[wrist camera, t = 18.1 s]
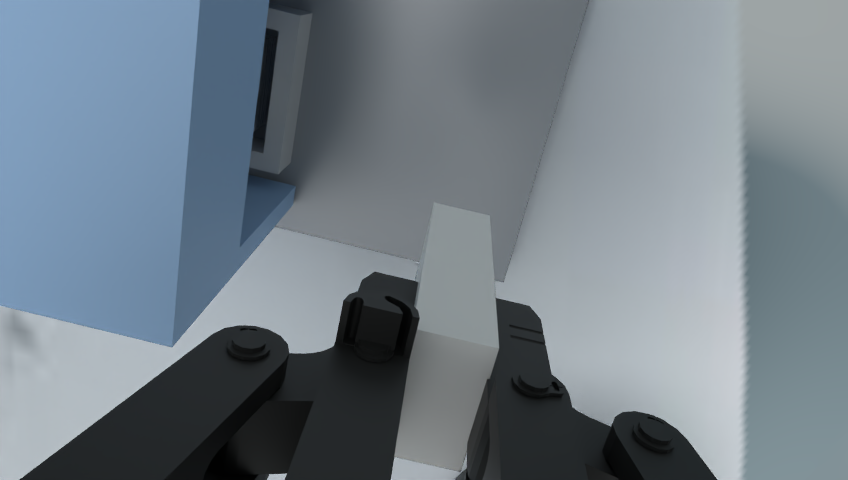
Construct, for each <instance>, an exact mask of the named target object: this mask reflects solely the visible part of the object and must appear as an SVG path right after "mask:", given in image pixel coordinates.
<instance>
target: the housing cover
mask: <svg viewBox="0 0 848 480" xmlns="http://www.w3.org/2000/svg"><path fill="white" fill-rule="evenodd" d="M268 7H269V0H0V305H1V306H5V307H9V308H13V309H17V310H21V311H25V312H29V313H33V314H37V315H42V316H46V317H50V318H54V319H58V320H62V321H66V322H70V323H74V324H78V325H83V326H87V327H91V328H95V329H99V330H103V331H107V332H111V333H115V334H119V335H124V336H128V337H132V338H136V339H140V340H144V341H148V342H152V343H156V344H160V345H165V346H169V347H173V346H174V344H175V343H176V342H177V341H178V340H179V339H180V337H181V336H182V335H183V334H184V333H185V331H186V330H187V329H188V328H189V327H190V326H191V324H192V323H193V322H194V321H195V320H196V319H197V317H198V316H199V315H200V314H201V313H202V311H203V310H204V309H205V308H206V307H207V306H208V304H209V303H210V302H211V301H212V300H213V298H214V297H215V296H216V295H217V294H218V293H219V291H220V290H221V289H222V288H223V287H224V286H225V284H226V283H227V282H228V281H229V280H230V278H231V277H232V276H233V275H234V274H235V273H236V271H237V270H238V269H239V268H240V267H241V266H242V264H243V263H244V262H245V261H246V260H247V258H248V257H249V256H250V255H251V254H252V253H253V251H254V250H255V249H256V248H257V247H258V246H259V244H260V243H261V242H262V241H263V240H264V238H265V237H266V236H267V235H268V234H269V233H270V231H271V230H272V229H273V228H274V227H275V226H276V224H277V223H278V222H279V221H280V220H281V218H282V217H283V216H284V215H285V214H286V213H287V211H288V210H289V209H290V208H291V207H292V206H293V201H294V195H295V188H296V186H294V185H289V184H285V183H281V182H277V181H273V180H269V179H265V178H261V177H256V176H252V175H248V173H249V165H250V156H251V148H252V140H253V131H254V123H255V115H256V107H257V98H258V90H259V82H260V73H261V65H262V57H263V48H264V40H265V32H266V23H267V15H268Z"/></svg>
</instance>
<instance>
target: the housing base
mask: <svg viewBox="0 0 848 480" xmlns="http://www.w3.org/2000/svg"><path fill="white" fill-rule="evenodd" d="M588 2H589V0H269V7H268V15H267V23H266V32H265V34H266V35H270V36H274V37H277V43H276V51H275V59H274V66H273V74H272V82H271V90H270V97H269V105H268V113H267V121H266V124H264V125H263V126H261V127H260V128H258V129H257V130H255V131H254V132H253V140H252V148H251V156H250V165H249V173H248V175H252V176H256V177H261V178H265V179H269V180H273V181H277V182H281V183H285V184H289V185H294V186H296V188H295V195H294V201H293V206H292V207H291V208H290V209H289V210H288V211H287V213H286V214H285V215H284V216H283V217H282V218H281V220H280V221H279V222H278V223H277V224H276V226H275V227H279V228H283V229H287V230H291V231H295V232H299V233H303V234H307V235H311V236H316V237H320V238H324V239H328V240H332V241H336V242H340V243H344V244H348V245H353V246H357V247H361V248H365V249H369V250H373V251H377V252H381V253H385V254H390V255H394V256H398V257H402V258H406V259H410V260H414V261H418V262H420V258H421V254H422V250H423V246H424V242H425V237H426V233H427V229H428V225H429V221H430V217H431V213H432V209H433V204H434V203H438V204H443V205H447V206H451V207H456V208H460V209H464V210H468V211H473V212H477V213H481V214H485V215H490V226H491V240H492V254H493V268H494V280H497V281H501V282H504V279H505V276H506V272H507V269H508V266H509V263H510V259H511V256H512V253H513V249H514V246H515V243H516V239H517V236H518V233H519V230H520V226H521V223H522V220H523V216H524V213H525V210H526V206H527V203H528V200H529V196H530V193H531V190H532V187H533V183H534V180H535V177H536V173H537V170H538V167H539V163H540V160H541V157H542V154H543V150H544V147H545V144H546V140H547V137H548V134H549V130H550V127H551V124H552V121H553V117H554V114H555V111H556V107H557V104H558V101H559V97H560V94H561V91H562V87H563V84H564V81H565V78H566V74H567V71H568V68H569V64H570V61H571V58H572V54H573V51H574V48H575V45H576V41H577V38H578V35H579V31H580V28H581V25H582V21H583V18H584V15H585V12H586V8H587V5H588Z"/></svg>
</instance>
